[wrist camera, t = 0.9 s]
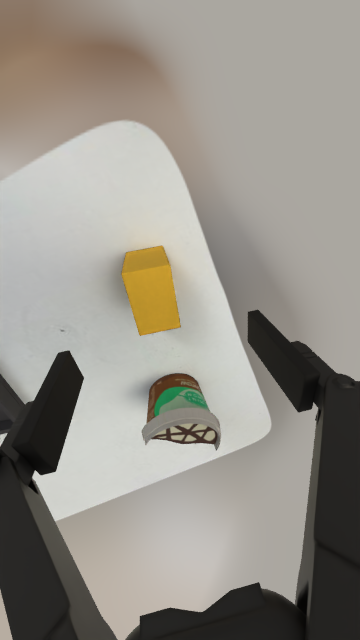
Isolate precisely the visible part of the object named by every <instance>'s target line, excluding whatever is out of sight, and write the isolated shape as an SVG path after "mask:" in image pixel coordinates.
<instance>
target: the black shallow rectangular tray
mask: <svg viewBox="0 0 360 640" xmlns="http://www.w3.org/2000/svg"><path fill="white" fill-rule="evenodd" d="M24 406H25V405H24V403H23V402H22V401H21V400H20V398H19V397H18V396H17V394H16V393H15V392H14V391H13V389H12V388H11V387H10V386H9V384H8V383H7V382H6V381H5V379H4V378H3V377H2V376H1V374H0V434H4V433H8V432H9V430H10V428H12V425H13V423H14V421H16V417H17V415H18V414H19V412H20V410H21V409H22V408H23V407H24Z"/></svg>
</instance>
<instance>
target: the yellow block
mask: <svg viewBox="0 0 360 640" xmlns="http://www.w3.org/2000/svg"><path fill="white" fill-rule="evenodd" d="M121 275H122V278H123V281H124V285H125V288H126V291H127V295H128V298H129V302H130V305H131V308H132V312H133V315H134V318H135V322H136V325H137V328H138V332H139V335H140V336H141V335H146V334H151V333H156V332H160V331H165V330H170V329H175V328H179V327H181V325H180V319H179V313H178V308H177V302H176V296H175V290H174V285H173V279H172V273H171V267H170V263H169V261H168V258H167V256H166V253H165V251H164V248H163V246H158V247H153V248H147V249H142V250H137V251H131V252H127V253H126V256H125V260H124V265H123V269H122V273H121Z"/></svg>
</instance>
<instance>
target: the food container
mask: <svg viewBox="0 0 360 640" xmlns="http://www.w3.org/2000/svg"><path fill="white" fill-rule="evenodd" d="M142 435H143V440H145V445H146V444H147V443H148V442H149V440H150V439H160V440H168V441H172V442H176V443H180V444H191V443H207V444H214V446H215V449H216V451H217V449H218V448H219V445H220V441H221V440H220V439H221V432H220V423H219V421H218V419H217V418H216V416H215V415H213V414H212V413H211V412H210V410H209V408H208V406H207V403H206V401H205V399H204V396H203V394H202V392H201V389H200V387H199V385H198V382H197V381H196V380H195V379H194V378H193V377H191V376H189V375H186V374H170V375H167V376H164V377H162V378H160V379H159V380H157V381H156V382H155V383H154V384H153V385H152V386H151V388H150V390H149V402H148V413H147V424H146V425H145V426H144V428H143V429H142Z"/></svg>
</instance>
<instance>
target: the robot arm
mask: <svg viewBox="0 0 360 640" xmlns="http://www.w3.org/2000/svg"><path fill="white" fill-rule="evenodd" d="M248 343H249V344H250V345H251V347H252V348H253V350H254V351H255V352H256V354H257V355H258V357H259V358H260V359H261V361H262V362H263V364H264V365H265V366H266V368H267V369H268V371H269V372H270V373H271V375H272V376H273V378H274V379H275V380H276V382H277V383H278V385H279V386H280V387H281V389H282V390H283V392H284V393H285V394H286V396H287V397H288V398H289V400H290V401H291V403H292V404H293V406H294V407H295V409H296V410H297V411H298V412H302V411H306V410H310V409H312V406H313V402H314V403H315V404H316V406H317V407H318V412H317V415H316V419H315V420H316V430H315V439H314V449H313V458H312V467H311V476H310V487H309V495H308V504H307V513H306V523H305V532H304V541H303V551H302V559H301V565H300V570H299V576H298V583H297V591H296V600H295V605H294V604H293V603H292V602H291V601H289V600H288V599H286V598H285V597H284V596H282V595H280V594H278V593H276V592H273V591H270V590H267V589H261V587H260V584H259V582H258V583H255V584H251V585H248V586H245V587H241V588H237V589H234V590H231V591H229V592H228V593H227V594H226V595H224V596H223V597H222V598H220V599H219V600H218V601H217V602H215V603H214V604H213V605H212V606H210V607H209V608H208V609H207V610H205V611H203V612H194V611H188V610H181V609H175V608H167V609H164V610H160V611H157V612H153V613H150V614H146V615H142V616H140V625H139V626H137V627H136V628H135V629H134V630H133V631H132V632H131V633H130V634H129V635H128V637H127V638H126V640H360V381H355V380H354V379H352V378H351V377H349V376H346V375H343V374H337V373H336V372H334V370H333V369H331V368H330V367H329V366H328V365H327V364H326V363H325V362H324V361H323V360H322V359H321V358H320V357H319V356H317V355H316V354H315V353H314V352H312V350H311V349H310V348H309V347H308V346H307V345H305V344H303V343H301V342H299V341H295V342H291V343H290V342H289V341H288V340H287V339H286V338H285V337H284V336H283V335H282V334H281V333H280V332H279V331H278V330H277V328H275V326H274V325H273V324H272V323H271V322H269V321H268V319H267V318H266V317H265V316H264V315H263V314H262V313H260V311H259V310H255V311H250V312H248ZM83 380H84V377H83V375H82V373H81V371H80V370H79V368H78V366H77V364H76V362H75V360H74V358H73V357H72V355H71V353H70V351H64V352H60V353H58V354H57V356H56V358H55V360H54V362H53V364H52V366H51V368H50V370H49V372H48V374H47V376H46V378H45V380H44V382H43V384H42V386H41V388H40V390H39V392H38V394H37V396H36V398H35V400H34V401H32V402H28V403H27V404H26V405H25V406H24V407H23V408H22V409H21V410H20V412H19V414H18V415H17V417H16V421H14V423H13V425H12V428H10V430H9V432H8V434H7V436H6V437H5V439H4V441H3V443H2V445H1V447H0V589H1V593H2V598H3V602H4V606H5V610H6V614H7V618H8V622H9V626H10V630H11V634H12V638H13V640H117V638H116V636H115V635H114V633H113V631H112V630H111V628H110V627H109V625H108V624H107V623H106V622H105V621H104V619H103V617H102V616H101V614H100V612H99V610H98V608H97V606H96V604H95V602H94V600H93V598H92V596H91V594H90V592H89V590H88V588H87V586H86V584H85V582H84V580H83V578H82V576H81V574H80V572H79V570H78V568H77V566H76V564H75V562H74V560H73V557H72V555H71V554H70V551H69V549H68V547H67V545H66V543H65V541H64V539H63V537H62V535H61V533H60V531H59V529H58V527H57V525H56V523H55V521H54V519H53V517H52V515H51V513H50V511H49V509H48V507H47V505H46V502H45V500H44V498H43V496H42V494H41V492H40V490H39V488H38V486H37V484H36V482H35V481H34V480H33V479H32V476H33V474H34V471H35V470H36V471H37V472H38V473H39V474H40V475H44V474H48V473H52V472H56V469H57V466H58V462H59V459H60V456H61V453H62V449H63V446H64V443H65V439H66V436H67V433H68V429H69V426H70V423H71V419H72V416H73V413H74V409H75V406H76V403H77V399H78V396H79V393H80V389H81V386H82V383H83Z"/></svg>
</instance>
